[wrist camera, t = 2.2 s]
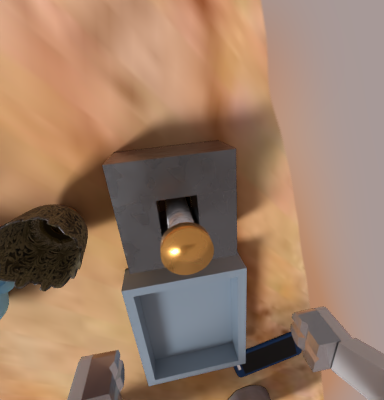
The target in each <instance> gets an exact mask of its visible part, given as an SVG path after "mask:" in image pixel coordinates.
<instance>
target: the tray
mask: <svg viewBox="0 0 384 400" xmlns="http://www.w3.org/2000/svg"><path fill="white" fill-rule="evenodd" d="M246 289H247V268H246V266H245V264H244V262H243V261H242V259H241V257H240V256H239V254H238V252H237V255H234V256H228V257H223V258H217V259H212V260H211V261H210V263H209V264H208V265H207V266H206V267H205V268H204V269H203V270H201V271H199V272H197V273H194V274H190V275H179V274H175V273H173V272H171V271H169V270H168V269H167V268H161V269H156V270H150V271H144V272H139V273H133V274H130V272H129V269H126V270H125V275H124V280H123V286H122V295H123V298H124V302H125V305H126V309H127V312H128V316H129V319H130V323H131V326H132V330H133V333H134V337H135V340H136V344H137V347H138V351H139V354H140V358H141V361H142V364H143V368H144V371H145V375H146V378H147V382H148V385H149V386H152V385H156V384H161V383H165V382H169V381H173V380H178V379H182V378H186V377H190V376H194V375H199V374H203V373H207V372H211V371H216V370H220V369H224V368H228V367H232V366H237V365H241V364H245V363H246Z"/></svg>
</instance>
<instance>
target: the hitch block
mask: <svg viewBox="0 0 384 400" xmlns="http://www.w3.org/2000/svg"><path fill="white" fill-rule="evenodd" d="M102 167H103V170H104V174H105V178H106V182H107V186H108V190H109V194H110V198H111V202H112V206H113V210H114V213H115V217H116V221H117V225H118V229H119V233H120V237H121V241H122V245H123V249H124V253H125V256H126V260H127V264H128V268H129V272H130V274H133V273H139V272H144V271H150V270H156V269H161V268H166V267H165V266H164V265H163V263H162V261H161V253H160V242H161V239H162V236H163V235H164V233H165V232H166V231H167V230H168V222H167V214H166V211H160V207H159V201H158V200H165V199H172V198H179V197H186V196H190V201H191V207H189V210H190V213H191V216H192V219H193V221H194V223H196V224H199V225H201V226H202V227H204V228H205V229H206V231H207V232H208V234H209V236H210V238H211V241H212V243H213V246H214V254H213V258H212V259H217V258H223V257H228V256H234V255H237V192H236V148H233V147H231V146H229V145H227V144H225V143H223V142H221V141H219V140H216V141H208V142H199V143H191V144H182V145H173V146H165V147H156V148H148V149H139V150H131V151H122V152H114V153H113V154H112V155H111V156H110V157H109V158H108V159H107V160H106V161H105V163H104V164H103V165H102Z"/></svg>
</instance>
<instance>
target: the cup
mask: <svg viewBox="0 0 384 400" xmlns="http://www.w3.org/2000/svg"><path fill="white" fill-rule="evenodd" d="M87 238H88V231H87V226H86V223H85V221H84V219H83V218H82V217H81V216H80V214H79V212H78V211H77V210H75V209H74V208H72V207H68V206H62V205H44V206H40V207H37V208H35V209H32V210H30V211H28V212H26V213H24V214H22V215H21V216H19V217H17V218H15V219H14V220H12V221H10V222H8V223H7V224H5V225H3V226H2V227H0V280H1V281H8V282H15V283H14V286H15V287H16V288H17V289H21V288H23V287H25V286H27V283H28V284H29V283H33V284H34V285H37V284H41V287H40V290H42V291H46V290H48V289H49V288H50V287H51V286H52V287H53V288H61V287H63V286H64V285H65V284H66V283H67V282H68V280H69V279H70V278H71V277H72V279H74V278H75V276H76V273H77V270H78V269H80V267H81V264H82V259H83V255H84V252H85V248H86V244H87Z"/></svg>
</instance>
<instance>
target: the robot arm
mask: <svg viewBox="0 0 384 400" xmlns="http://www.w3.org/2000/svg"><path fill="white" fill-rule="evenodd" d="M292 319H293V320H294V322H293V323H292V324H291V334H292V337H293V339H294V341H295V343H296V345H297V346H298V347H299V348H301V349H302V350H303V351H304V353H303V357H304V358H305V360H306V362H307V363H308V365H309V367H310V368H311V370H312V372H316V371H321V370H326V369H331V370H332V371H333V372H335V373H336V374H337V375H338V376H340V377H341V378H342V379H343V380H345V381H346V382H347V383H348V384H349V385H351V386H352V387H353V388H354V389H355V390H357V391H358V392H359V393H360V394H362V395H363V396H364V397H365V398H367V399H368V400H384V354H383V353H381V352H380V351H378V350H376V349H374V348H373V347H371V346H369V345H367V344H366V343H364V342H362V341H360V340H358V339H357V338H354V339H353V338H352V337H351V336H350V335H349V334H348V332H347V331H346V330H345V329H344V328H343V326H341V324H340V323H339V322H338V321H337V320H336V318H335V317H334V316H333V315H332V314H331V313H330V312H329V310H328V309H327V308H326V307H318V308H312V309H307V310H303V311H299V312H294V313H293V314H292ZM123 386H124V364H123V361H122V360H120V353H119V350H115V351H110V352H105V353H100V354H94V355H89V356H84V357H81V359H80V361H79V362H78V366H77V369H76V372H75V376H74V379H73V383H72V386H71V389H70V393H69V396H68V399H67V400H122V397H121V394H120V391H121V389H122V388H123Z"/></svg>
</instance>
